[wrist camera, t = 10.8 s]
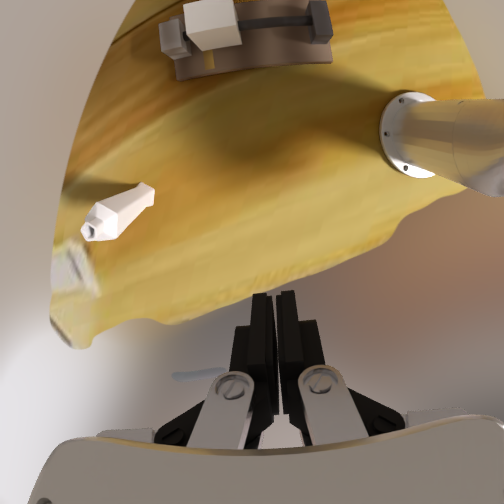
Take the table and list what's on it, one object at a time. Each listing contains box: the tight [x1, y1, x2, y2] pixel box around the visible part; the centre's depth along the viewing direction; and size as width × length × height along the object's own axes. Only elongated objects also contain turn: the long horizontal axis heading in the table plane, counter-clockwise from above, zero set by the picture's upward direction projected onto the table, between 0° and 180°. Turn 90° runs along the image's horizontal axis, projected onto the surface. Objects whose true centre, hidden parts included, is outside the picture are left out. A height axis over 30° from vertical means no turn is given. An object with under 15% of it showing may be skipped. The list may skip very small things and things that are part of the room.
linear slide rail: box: [159, 0, 333, 81], centre depth 27 cm, size 20×10×6 cm, turn 98°
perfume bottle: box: [81, 182, 155, 241], centre depth 33 cm, size 5×4×15 cm
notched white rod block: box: [183, 0, 242, 51], centre depth 25 cm, size 5×4×8 cm
